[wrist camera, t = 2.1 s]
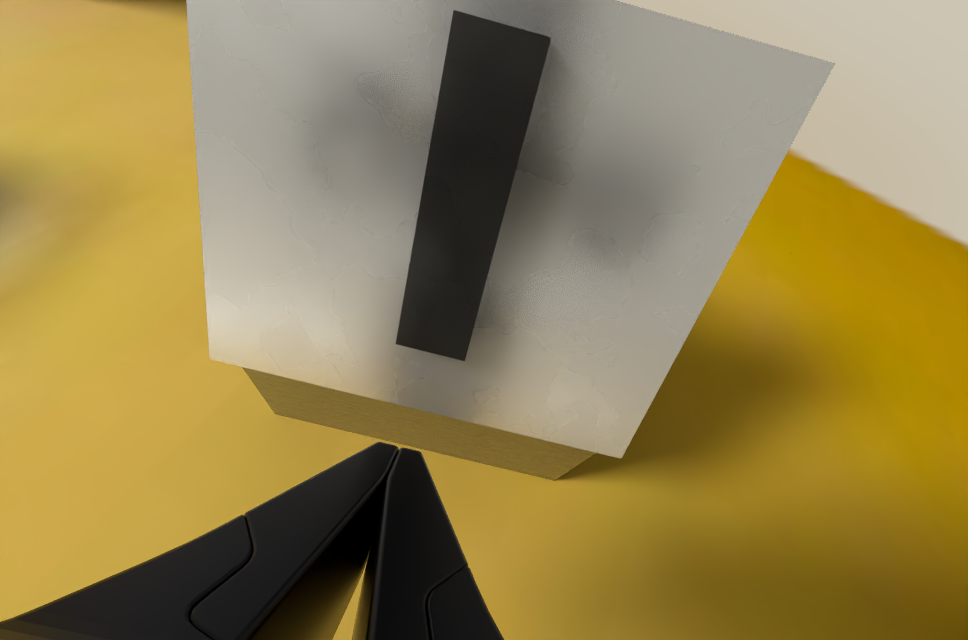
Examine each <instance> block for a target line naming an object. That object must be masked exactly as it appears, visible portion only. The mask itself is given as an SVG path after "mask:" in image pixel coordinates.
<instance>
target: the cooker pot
mask: <svg viewBox="0 0 968 640" xmlns="http://www.w3.org/2000/svg"><path fill="white" fill-rule="evenodd" d="M242 368H243V369H244V371H245V372H246V373H247V375H248V376H249V378H250V379H251V380H252V382H253V383H254V385H255V386H256V387H257V389H258V390H259V392H260V393H261V395H262V396H263V397H264V399H265V400H266V402H267V403H268V404H269V406H270V407H271V409H272V410H273V412H274V413H275V414H278V415H282V416H286V417H291V418H295V419H299V420H303V421H307V422H312V423H316V424H320V425H324V426H328V427H333V428H337V429H341V430H345V431H349V432H353V433H358V434H362V435H366V436H370V437H374V438H379V439H383V440H387V441H391V442H395V443H400V444H404V445H408V446H412V447H416V448H421V449H425V450H429V451H433V452H437V453H441V454H446V455H450V456H454V457H458V458H462V459H467V460H471V461H475V462H479V463H483V464H488V465H492V466H496V467H500V468H504V469H509V470H513V471H517V472H521V473H525V474H529V475H534V476H538V477H542V478H546V479H550V480H556V479H558V478H559V477H561V476H562V475H564V474H565V473H567V472H568V471H570V470H571V469H573V468H574V467H576V466H577V465H579V464H580V463H582V462H583V461H585V460H586V459H588V458H589V457H591V456H592V455H594V454H595V452H591V451H587V450H583V449H579V448H575V447H570V446H566V445H562V444H558V443H554V442H550V441H546V440H542V439H537V438H533V437H529V436H525V435H521V434H517V433H513V432H509V431H504V430H500V429H496V428H492V427H488V426H484V425H480V424H475V423H471V422H467V421H463V420H459V419H455V418H451V417H447V416H442V415H438V414H434V413H430V412H426V411H422V410H418V409H414V408H409V407H405V406H401V405H397V404H393V403H389V402H385V401H381V400H376V399H372V398H368V397H364V396H360V395H356V394H352V393H348V392H343V391H339V390H335V389H331V388H327V387H323V386H319V385H315V384H310V383H306V382H302V381H298V380H294V379H290V378H286V377H282V376H277V375H273V374H269V373H265V372H261V371H257V370H253V369H249V368H244V367H242Z"/></svg>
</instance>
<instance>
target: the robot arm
mask: <svg viewBox="0 0 968 640" xmlns="http://www.w3.org/2000/svg"><path fill="white" fill-rule="evenodd" d="M398 451H399V452H398ZM367 559H368V560H367ZM366 562H367V564H366ZM365 565H366V569H365V573H364V578H363V582H362V588H361V593H360V598H359V604H358V609H357V614H356V620H355V625H354V630H353V636H352V640H504V638H503V637H502V635H501V633H500V631H499V629H498V627H497V626H496V624H495V622H494V620H493V618H492V616H491V614H490V613H489V611H488V609H487V606H486V604H485V602H484V600H483V598H482V596H481V593H480V591H479V589H478V587H477V585H476V582H475V580H474V577H473V575H472V573H471V570H470V568H469V567H468V563H467V561H466V559H465V556H464V554H463V551H462V549H461V547H460V544H459V542H458V539H457V537H456V535H455V532H454V530H453V527H452V525H451V523H450V520H449V518H448V515H447V513H446V511H445V508H444V506H443V504H442V501H441V499H440V496H439V494H438V492H437V489H436V487H435V484H434V482H433V480H432V477H431V475H430V472H429V470H428V468H427V465H426V463H425V460H424V458H423V456H422V453H421V452H419V451H416V450H411V449H407V448H401V449H400V450H399V449H398V447H397V446H395V445H390V444H386V443H382V442H378V443H375V444H373V445H371V446H370V447H368V448H366V449H364V450H362V451H360V452H358V453H357V454H355V455H353V456H351V457H349V458H347V459H345V460H343V461H342V462H340V463H338V464H336V465H334V466H332V467H330V468H328V469H327V470H325V471H323V472H321V473H319V474H317V475H315V476H314V477H312V478H310V479H308V480H306V481H304V482H302V483H300V484H299V485H297V486H295V487H293V488H291V489H289V490H287V491H285V492H284V493H282V494H280V495H278V496H276V497H274V498H272V499H270V500H269V501H267V502H265V503H263V504H261V505H259V506H257V507H256V508H254V509H252V510H250V511H248V512H246V513H245V514H244V516H243V515H240V516H238V517H236V518H235V519H233V520H231V521H229V522H227V523H225V524H223V525H221V526H219V527H218V528H216V529H214V530H212V531H210V532H208V533H206V534H204V535H202V536H200V537H198V538H196V539H194V540H192V541H190V542H188V543H185V544H183V545H181V546H179V547H177V548H174V549H172V550H170V551H168V552H166V553H163V554H161V555H159V556H157V557H154V558H152V559H150V560H148V561H146V562H143V563H141V564H139V565H136V566H134V567H132V568H129V569H127V570H125V571H122V572H120V573H118V574H115V575H113V576H111V577H108V578H106V579H104V580H101V581H99V582H97V583H94V584H92V585H90V586H87V587H85V588H83V589H80V590H78V591H76V592H73V593H71V594H69V595H66V596H64V597H62V598H59V599H57V600H55V601H52V602H50V603H48V604H45V605H43V606H41V607H38V608H36V609H34V610H31V611H29V612H26V613H23V614H21V615H18V616H16V617H13V618H11V619H8V620H5V621H2V622H0V640H332V639H333V637H334V634H335V632H336V630H337V628H338V626H339V624H340V621H341V619H342V617H343V615H344V613H345V610H346V608H347V606H348V604H349V602H350V600H351V597H352V595H353V593H354V591H355V589H356V587H357V584H358V582H359V580H360V577H361V575H362V573H363V570H364V568H365Z"/></svg>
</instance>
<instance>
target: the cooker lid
mask: <svg viewBox="0 0 968 640" xmlns="http://www.w3.org/2000/svg"><path fill="white" fill-rule="evenodd" d="M186 3H187V18H188V34H189V49H190V64H191V80H192V95H193V111H194V126H195V141H196V157H197V172H198V187H199V203H200V218H201V233H202V249H203V264H204V280H205V295H206V310H207V326H208V341H209V356H210V359H211V360H216V361H220V362H224V363H228V364H232V365H236V366H240V367H244V368H249V369H253V370H257V371H261V372H265V373H269V374H273V375H277V376H282V377H286V378H290V379H294V380H298V381H302V382H306V383H310V384H315V385H319V386H323V387H327V388H331V389H335V390H339V391H343V392H348V393H352V394H356V395H360V396H364V397H368V398H372V399H376V400H381V401H385V402H389V403H393V404H397V405H401V406H405V407H409V408H414V409H418V410H422V411H426V412H430V413H434V414H438V415H442V416H447V417H451V418H455V419H459V420H463V421H467V422H471V423H475V424H480V425H484V426H488V427H492V428H496V429H500V430H504V431H509V432H513V433H517V434H521V435H525V436H529V437H533V438H537V439H542V440H546V441H550V442H554V443H558V444H562V445H566V446H570V447H575V448H579V449H583V450H587V451H591V452H595V453H599V454H603V455H608V456H612V457H616V458H620V459H621V458H622V457H623V455H624V453H625V451H626V449H627V447H628V445H629V444H630V442H631V440H632V438H633V436H634V434H635V433H636V431H637V429H638V427H639V425H640V423H641V421H642V420H643V418H644V416H645V414H646V412H647V410H648V408H649V407H650V405H651V403H652V401H653V399H654V397H655V396H656V394H657V392H658V390H659V388H660V386H661V384H662V383H663V381H664V379H665V377H666V375H667V373H668V372H669V370H670V368H671V366H672V364H673V362H674V360H675V359H676V357H677V355H678V353H679V351H680V349H681V348H682V346H683V344H684V342H685V340H686V338H687V336H688V335H689V333H690V331H691V329H692V327H693V325H694V324H695V322H696V320H697V318H698V316H699V314H700V312H701V311H702V309H703V307H704V305H705V303H706V301H707V299H708V298H709V296H710V294H711V292H712V290H713V288H714V287H715V285H716V283H717V281H718V279H719V277H720V275H721V274H722V272H723V270H724V268H725V266H726V264H727V263H728V261H729V259H730V257H731V255H732V253H733V251H734V250H735V248H736V246H737V244H738V242H739V240H740V239H741V237H742V235H743V233H744V231H745V229H746V227H747V226H748V224H749V222H750V220H751V218H752V216H753V215H754V213H755V211H756V209H757V207H758V205H759V203H760V202H761V200H762V198H763V196H764V194H765V192H766V190H767V189H768V187H769V185H770V183H771V181H772V179H773V178H774V176H775V174H776V172H777V170H778V168H779V166H780V165H781V163H782V161H783V159H784V157H785V155H786V154H787V152H788V150H789V148H790V146H791V144H792V142H793V141H794V139H795V137H796V135H797V133H798V131H799V130H800V127H801V126H802V124H803V122H804V120H805V118H806V116H807V115H808V113H809V111H810V109H811V107H812V105H813V104H814V102H815V100H816V98H817V96H818V94H819V92H820V91H821V89H822V87H823V85H824V83H825V82H826V80H827V78H828V76H829V74H830V72H831V70H832V69H833V67H834V65H835V63H831V62H828V61H825V60H821V59H818V58H814V57H811V56H807V55H804V54H800V53H797V52H793V51H790V50H786V49H783V48H779V47H776V46H772V45H769V44H765V43H762V42H758V41H755V40H752V39H748V38H745V37H741V36H738V35H734V34H731V33H727V32H724V31H720V30H716V29H713V28H710V27H706V26H703V25H699V24H696V23H692V22H689V21H685V20H682V19H679V18H675V17H671V16H668V15H665V14H661V13H658V12H654V11H651V10H647V9H644V8H640V7H637V6H633V5H630V4H626V3H623V2H619V1H616V0H186Z"/></svg>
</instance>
